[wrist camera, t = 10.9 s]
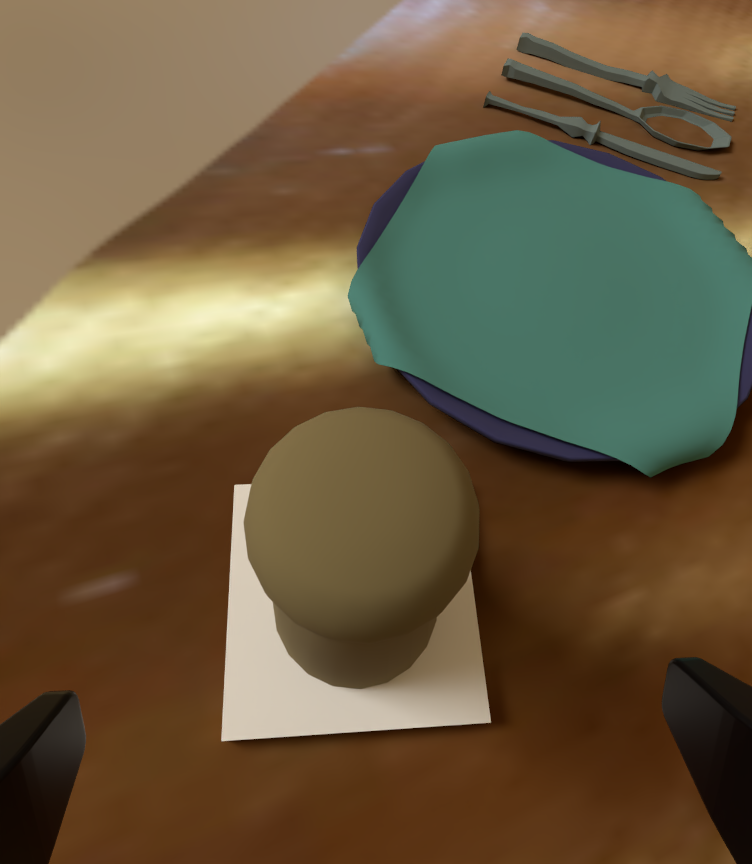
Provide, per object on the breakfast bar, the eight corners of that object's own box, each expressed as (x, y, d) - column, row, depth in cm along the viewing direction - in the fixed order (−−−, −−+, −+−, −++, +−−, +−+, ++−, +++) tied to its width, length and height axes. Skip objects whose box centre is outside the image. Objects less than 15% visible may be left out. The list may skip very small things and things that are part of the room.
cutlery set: (282, 372, 27) (278, 342, 25) (491, 43, 40) (500, 6, 38) (709, 554, 24) (744, 538, 22) (782, 137, 37) (808, 102, 35)
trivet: (485, 722, 20) (491, 722, 20) (225, 740, 20) (221, 741, 19) (455, 483, 24) (458, 476, 24) (238, 492, 24) (234, 484, 23)
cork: (367, 490, 23) (384, 319, 13) (472, 611, 21) (580, 516, 11) (240, 586, 21) (150, 469, 11) (341, 729, 19) (338, 736, 10)
